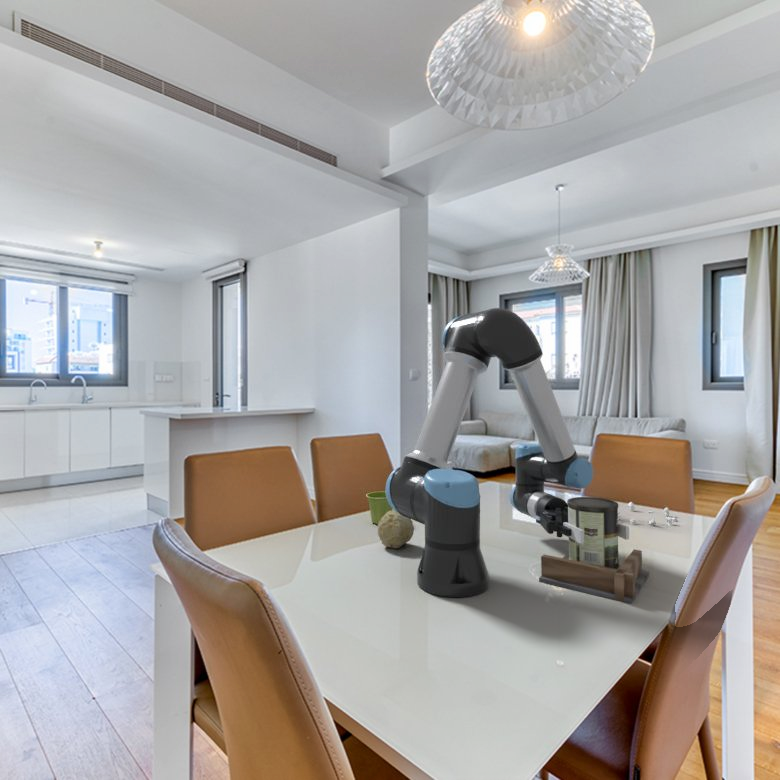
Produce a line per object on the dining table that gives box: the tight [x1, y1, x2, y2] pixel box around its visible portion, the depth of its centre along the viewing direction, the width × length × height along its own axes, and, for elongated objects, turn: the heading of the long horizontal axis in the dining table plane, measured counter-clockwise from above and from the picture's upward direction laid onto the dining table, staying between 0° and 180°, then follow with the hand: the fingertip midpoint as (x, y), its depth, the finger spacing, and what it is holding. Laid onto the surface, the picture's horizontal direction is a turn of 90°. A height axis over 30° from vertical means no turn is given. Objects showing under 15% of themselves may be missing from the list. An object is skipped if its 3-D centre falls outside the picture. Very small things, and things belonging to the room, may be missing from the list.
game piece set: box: [618, 501, 678, 526], centre depth 152 cm, size 19×20×4 cm
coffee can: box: [566, 496, 620, 569], centre depth 105 cm, size 10×10×14 cm
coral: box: [377, 509, 415, 549], centre depth 128 cm, size 10×10×10 cm
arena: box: [538, 548, 650, 605], centre depth 105 cm, size 18×18×5 cm
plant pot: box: [365, 491, 394, 525], centre depth 151 cm, size 9×9×9 cm
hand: (605, 535), depth 101 cm, fingers closed on coffee can, 10 cm apart
